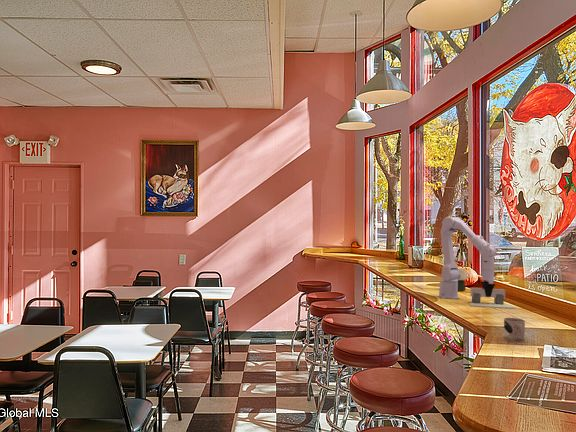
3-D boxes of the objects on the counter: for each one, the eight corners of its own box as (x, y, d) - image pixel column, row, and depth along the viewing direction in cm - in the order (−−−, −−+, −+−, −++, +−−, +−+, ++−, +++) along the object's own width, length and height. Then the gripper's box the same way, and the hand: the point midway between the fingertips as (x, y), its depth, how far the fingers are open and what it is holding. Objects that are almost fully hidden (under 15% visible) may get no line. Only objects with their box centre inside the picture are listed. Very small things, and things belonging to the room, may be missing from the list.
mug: (500, 335, 170) (501, 317, 170) (519, 336, 170) (519, 318, 170) (513, 342, 160) (513, 323, 160) (532, 343, 160) (533, 324, 160)
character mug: (468, 290, 284) (468, 268, 284) (470, 291, 277) (471, 270, 277) (449, 289, 286) (450, 268, 286) (451, 291, 279) (452, 269, 279)
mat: (471, 306, 228) (471, 305, 228) (468, 304, 235) (468, 302, 235) (514, 308, 225) (515, 307, 225) (510, 306, 232) (510, 305, 232)
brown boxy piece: (474, 303, 236) (474, 293, 236) (471, 301, 242) (471, 292, 242) (480, 304, 236) (480, 294, 236) (477, 302, 242) (478, 292, 242)
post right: (497, 305, 234) (497, 295, 234) (494, 303, 240) (494, 293, 240) (503, 305, 234) (503, 295, 234) (500, 303, 239) (500, 293, 240)
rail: (471, 296, 238) (471, 288, 238) (470, 295, 241) (470, 287, 241) (505, 298, 235) (505, 290, 235) (503, 297, 238) (503, 289, 238)
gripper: (500, 271, 230) (499, 299, 230) (492, 268, 244) (492, 294, 244) (484, 270, 231) (484, 298, 231) (478, 268, 246) (478, 293, 246)
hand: (487, 296), depth 238 cm, fingers closed on rail, 3 cm apart
